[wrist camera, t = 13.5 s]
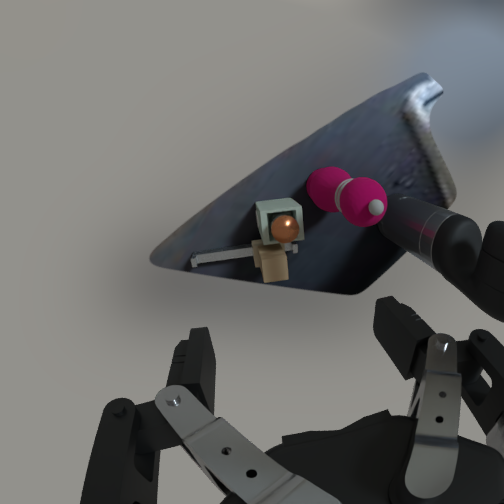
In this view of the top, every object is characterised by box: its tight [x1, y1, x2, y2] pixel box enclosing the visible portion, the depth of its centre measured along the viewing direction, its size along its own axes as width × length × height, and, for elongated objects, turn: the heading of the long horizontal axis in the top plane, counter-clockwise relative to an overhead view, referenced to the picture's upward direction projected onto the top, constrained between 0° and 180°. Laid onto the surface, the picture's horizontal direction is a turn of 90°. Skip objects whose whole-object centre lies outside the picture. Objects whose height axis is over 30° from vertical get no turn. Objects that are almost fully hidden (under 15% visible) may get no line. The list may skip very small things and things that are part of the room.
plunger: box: [269, 211, 299, 243], centre depth 40 cm, size 4×4×6 cm
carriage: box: [252, 239, 288, 283], centre depth 44 cm, size 5×4×10 cm
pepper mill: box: [306, 167, 387, 227], centre depth 37 cm, size 7×7×20 cm
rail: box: [191, 241, 298, 267], centre depth 47 cm, size 18×2×4 cm, turn 97°
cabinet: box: [255, 198, 304, 245], centre depth 44 cm, size 6×5×8 cm
